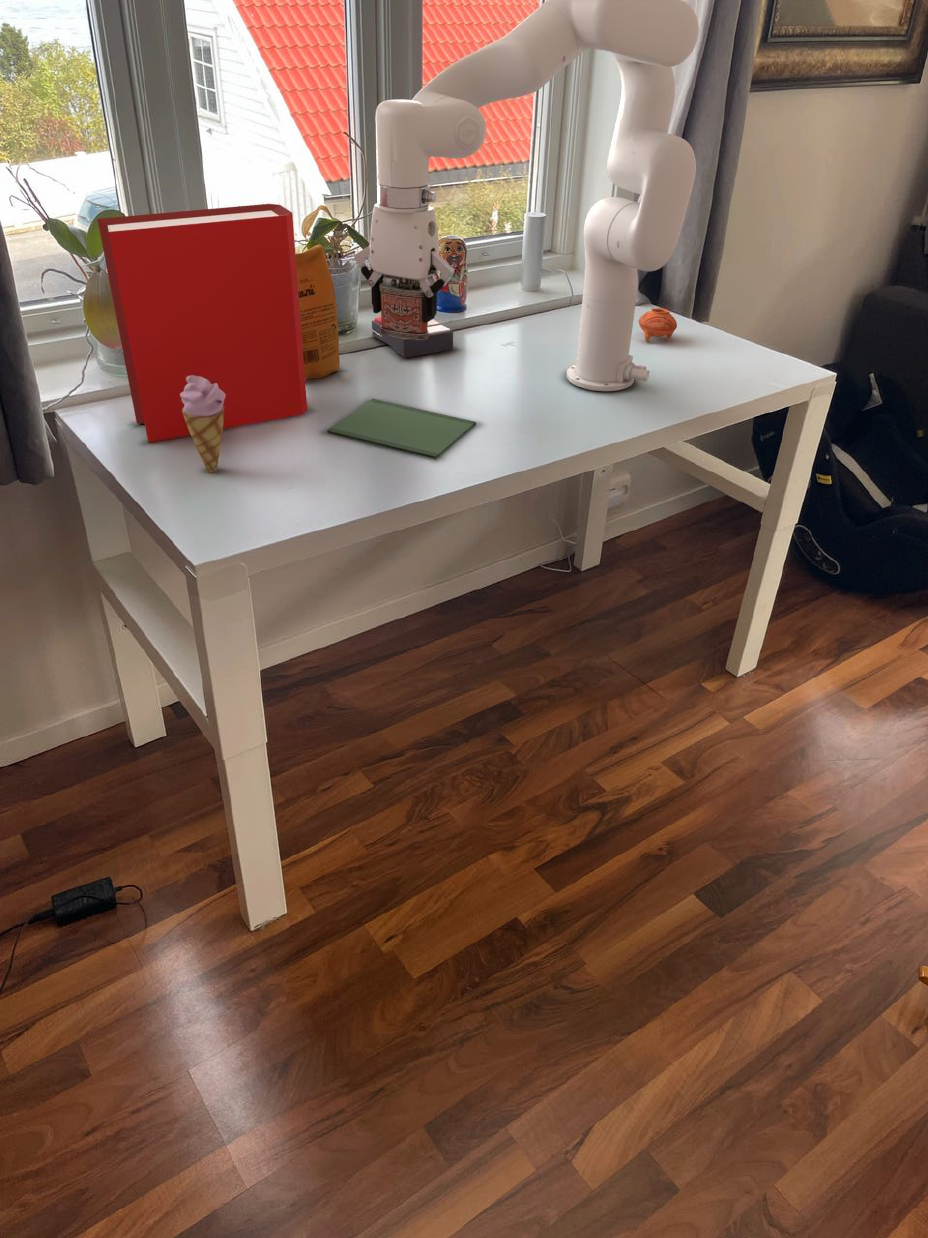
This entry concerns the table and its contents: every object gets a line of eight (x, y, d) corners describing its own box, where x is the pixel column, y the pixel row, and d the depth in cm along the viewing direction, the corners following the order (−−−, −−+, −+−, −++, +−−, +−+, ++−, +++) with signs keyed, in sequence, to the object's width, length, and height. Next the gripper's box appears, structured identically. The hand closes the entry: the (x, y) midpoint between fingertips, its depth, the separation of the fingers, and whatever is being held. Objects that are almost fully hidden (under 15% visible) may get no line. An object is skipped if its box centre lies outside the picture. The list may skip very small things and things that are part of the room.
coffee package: (261, 370, 175) (248, 248, 162) (318, 356, 182) (310, 237, 169) (289, 387, 169) (278, 261, 156) (346, 372, 176) (341, 250, 163)
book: (148, 442, 149) (108, 231, 131) (136, 423, 155) (97, 218, 136) (310, 413, 160) (295, 214, 141) (293, 396, 166) (277, 202, 147)
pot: (627, 332, 197) (637, 300, 193) (658, 338, 200) (669, 307, 196) (644, 344, 190) (655, 311, 187) (676, 350, 193) (688, 317, 190)
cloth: (475, 423, 158) (476, 421, 158) (435, 458, 147) (435, 456, 147) (373, 400, 165) (373, 398, 165) (327, 432, 154) (327, 430, 154)
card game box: (418, 309, 195) (454, 327, 184) (419, 330, 197) (454, 349, 187) (370, 316, 190) (404, 335, 180) (371, 337, 193) (404, 357, 182)
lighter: (431, 334, 150) (432, 270, 144) (423, 341, 147) (424, 276, 141) (385, 327, 152) (384, 264, 146) (377, 334, 149) (375, 269, 144)
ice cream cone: (195, 460, 145) (181, 366, 136) (236, 459, 145) (224, 366, 137) (189, 480, 140) (173, 383, 131) (231, 479, 140) (218, 383, 131)
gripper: (467, 199, 137) (464, 318, 148) (365, 184, 143) (368, 300, 153) (444, 209, 132) (442, 331, 142) (338, 193, 138) (344, 312, 148)
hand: (404, 314), depth 148 cm, fingers closed on lighter, 8 cm apart
